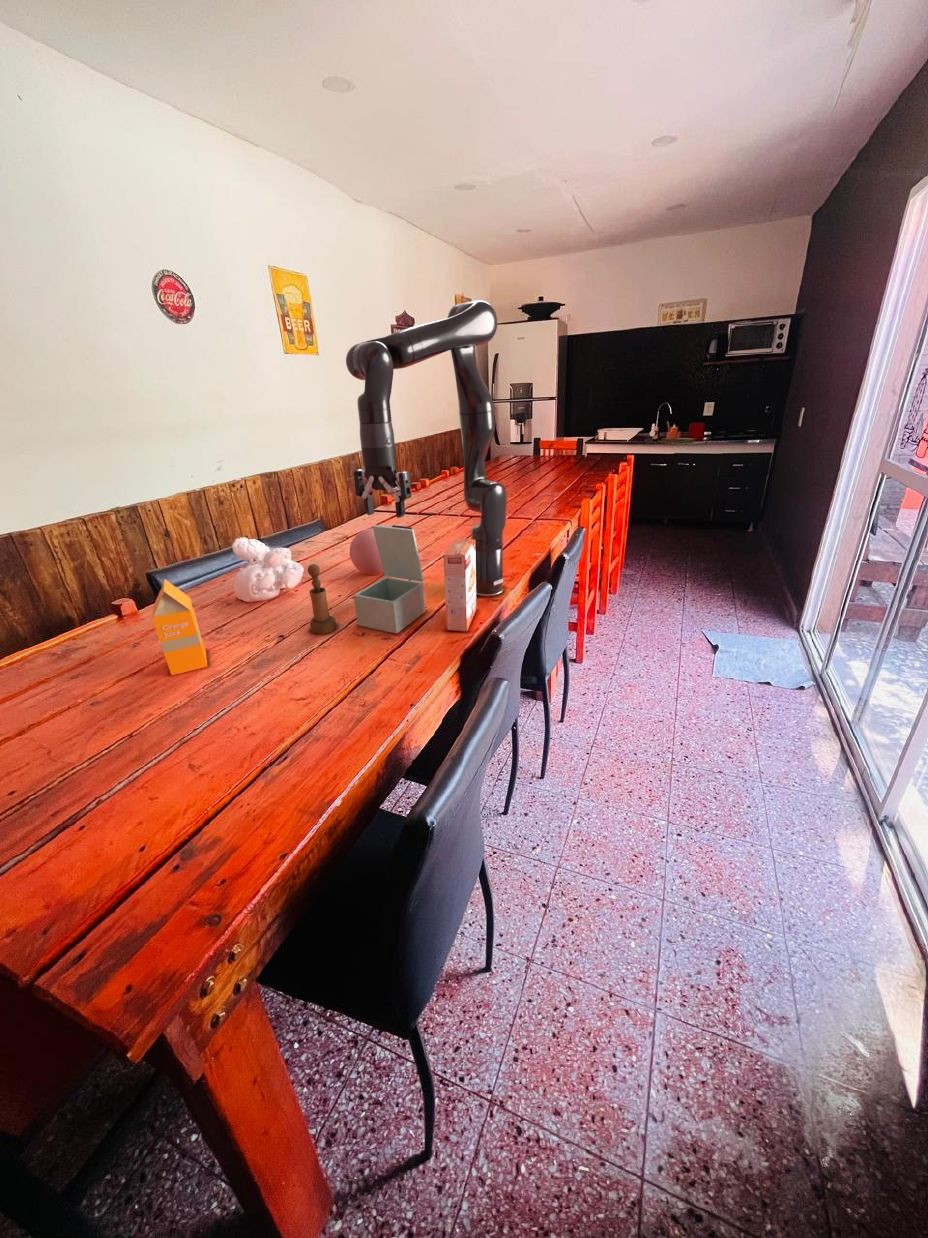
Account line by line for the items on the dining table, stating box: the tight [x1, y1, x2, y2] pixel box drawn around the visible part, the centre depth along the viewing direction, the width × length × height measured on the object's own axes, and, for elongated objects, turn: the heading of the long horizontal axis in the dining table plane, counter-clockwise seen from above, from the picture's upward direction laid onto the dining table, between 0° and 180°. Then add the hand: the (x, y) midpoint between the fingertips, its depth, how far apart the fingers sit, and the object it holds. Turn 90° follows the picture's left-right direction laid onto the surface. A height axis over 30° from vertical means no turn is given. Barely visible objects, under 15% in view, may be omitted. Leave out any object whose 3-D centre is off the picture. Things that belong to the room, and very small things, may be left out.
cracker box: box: [443, 538, 477, 633], centre depth 129 cm, size 14×6×21 cm, turn 168°
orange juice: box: [151, 578, 208, 676], centre depth 113 cm, size 8×9×20 cm
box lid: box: [371, 524, 425, 583], centre depth 135 cm, size 16×13×5 cm
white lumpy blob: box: [231, 536, 305, 603], centre depth 154 cm, size 19×20×20 cm
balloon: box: [349, 528, 384, 576], centre depth 167 cm, size 15×20×15 cm
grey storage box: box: [353, 576, 426, 635], centre depth 134 cm, size 15×13×9 cm
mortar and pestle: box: [307, 563, 337, 635], centre depth 128 cm, size 7×6×18 cm
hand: (385, 515), depth 118 cm, fingers open, 8 cm apart
